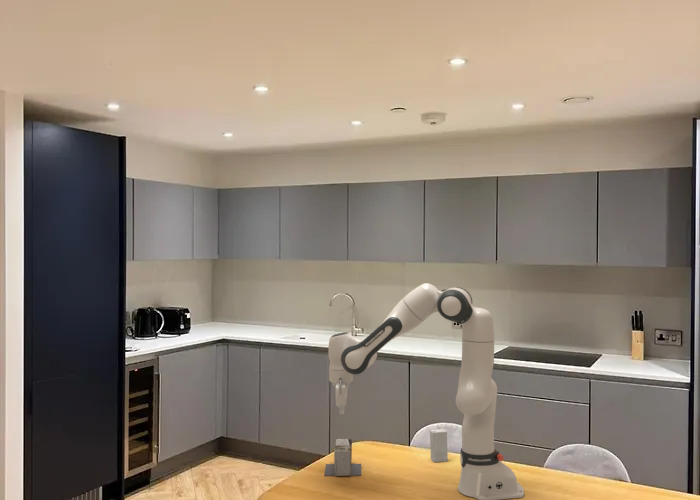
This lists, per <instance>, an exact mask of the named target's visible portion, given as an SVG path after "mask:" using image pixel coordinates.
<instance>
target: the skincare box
mask: <svg viewBox="0 0 700 500" xmlns="http://www.w3.org/2000/svg"><path fill="white" fill-rule="evenodd" d="M429 442H430V443H429V444H430V445H429V447H430V460H431V461H432V462H433V463H440V462H441V463H442V462H448V460H449V459H448V454H449V453H448V431H447V430H446V429H444V428H437V429H429Z"/></svg>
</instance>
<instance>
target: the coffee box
mask: <svg viewBox="0 0 700 500" xmlns="http://www.w3.org/2000/svg"><path fill="white" fill-rule="evenodd" d="M352 443H353V440H352V438H337V439H335V447H334V452H333V455H334V459H333V461H334V463H333V464H334V474H335V476H334V477H347V476H346V475H351V464H352V461H353V459H352V457H353V453H352V452H353V451H352V450H353V447H352V446H353V445H352Z"/></svg>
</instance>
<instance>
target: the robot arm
mask: <svg viewBox="0 0 700 500" xmlns="http://www.w3.org/2000/svg"><path fill="white" fill-rule="evenodd" d="M434 313H439V314H440V316H441V317H443V318H444V319H445V320H447V321H450V322H454V323H456V324H458V325H460V326H461V328H462V329H461V330H462V337H461V363H460V364H461V365H460V370H459V377H458V383H457V385H458V386H457V391H456V392H457V393H456V395H455V405H456V407H457V409H458V410H459V412H461V413H462V414H463V420H462V424H461V448H460V455H459V456H460V467H461V470H460V477H459V483H458V487H457V490H458V492H459V493H461V494H462V495H464V496H467V497H469V498H475V499H476V500H508V499H518V498H523V497H524V496H525V490H524V487H523V486H522V485H521V484H520V483H519V482H518V481H517V476H516V474H515V473H514V471H513V469H512V468H511V467H508V466H507V465H506V464H505V463H503V462H502V461H503V460H504V456H503V454H502V453H500V451H498V450H497V449H496V448H495V420H496V413H497V411H496V410H497V396H498V386H497V383H496V381H495V380H494V379H493V378H492V374H493V369H494V365H495V327H494V320H493V315H492V313H491V312H490V311H489V310H488V309H487V308H486V309H485V308H483V307H476V306H474V304H473V298H472V296H471V294H470V293H469V291H468V290H466V289H465V288H463V287H459V286H457V287H455V286H454V287H449V288H446V289H442V290H439V289H438V287H436V286H435V285H433V284H431V283H428V282H425V283H421V284H420V285H419V286H417V287H415V288H414V289H412V290H411V291H409V293H407V294H406V295H405V296H404V297H403V298H401V300H399V302H397V304H396V305H395V306H394V307H393V309H392V310H391V311H390V312H389V313H388V315H387V316H386V317H385V318H384V320H383V321H382V323H381V324H380V325H379V326H378V327H376V329H374V330H373V331H372V332H371V333H370V334H369V335H368V336H366V338H364V339H363V340H362V339H359V338H357V337H355V336H354V335H352V334H351V333H349V332H348V331H346V332H344V331H343V332H338V333H335V334H333V335H331V337H330V338H329V340H328V352H327V353H328V360H329V366H328V381H329V382H330V383H332V386H333V387H335V390H334V391H335V394H334V395H335V407H337V408H338V409H339V415H344V414H345V411H346V408H345V407H347V397H348V390H349V389H348V388H349V386H350V384H351V382H353V381H354V375H360V374H362V373H364V371H366V370H367V369H368V368H370V366H372V365H374V363H375V362H376V361H377V358H378V352H379V351H380V350H382V348H384V346H386V345H387V344H388V343H389V342H392V340H394V339H396V338H397V337H401V336H402V335H404V334H407V333H408V332H410V331H412V330H414V329H415V328H417V327H418V326H420V325H421V324H422V323H424V322H425V320H426V319H428V318H429V317H430V316H431V315H433V314H434Z"/></svg>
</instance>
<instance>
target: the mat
mask: <svg viewBox="0 0 700 500" xmlns="http://www.w3.org/2000/svg"><path fill="white" fill-rule="evenodd" d="M323 476H324V477H336V476H335V474H334V463H325V468H324V474H323ZM356 476H357V477H361V476H362V463H351V475H346V476H345V477H356Z"/></svg>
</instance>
